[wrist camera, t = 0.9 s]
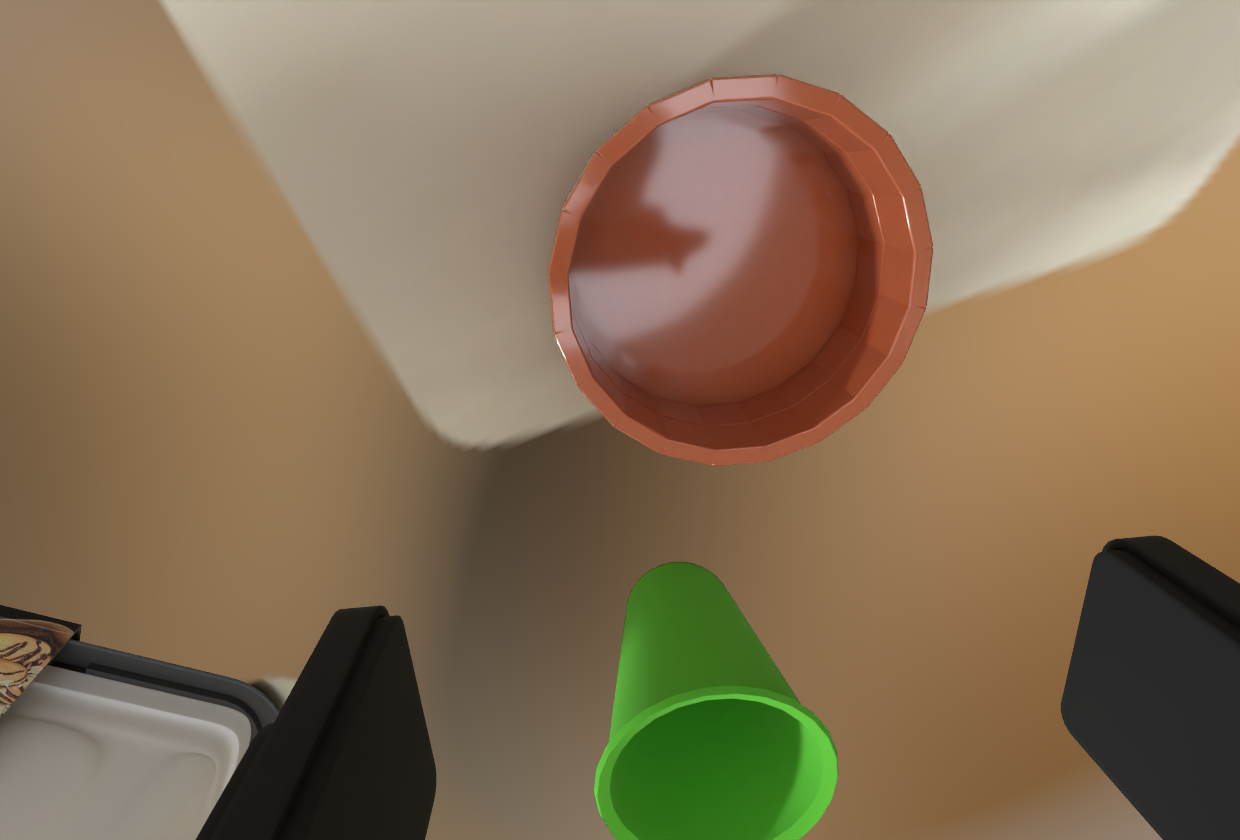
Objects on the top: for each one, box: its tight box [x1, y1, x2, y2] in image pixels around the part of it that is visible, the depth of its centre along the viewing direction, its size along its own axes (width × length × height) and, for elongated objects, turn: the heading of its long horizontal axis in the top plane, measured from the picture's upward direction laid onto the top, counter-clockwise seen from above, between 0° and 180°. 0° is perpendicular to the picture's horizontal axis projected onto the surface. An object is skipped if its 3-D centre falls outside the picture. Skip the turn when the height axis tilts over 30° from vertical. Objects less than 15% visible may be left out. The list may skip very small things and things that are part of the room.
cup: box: [594, 562, 838, 840], centre depth 29 cm, size 9×9×11 cm
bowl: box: [548, 74, 933, 466], centre depth 26 cm, size 13×13×6 cm
